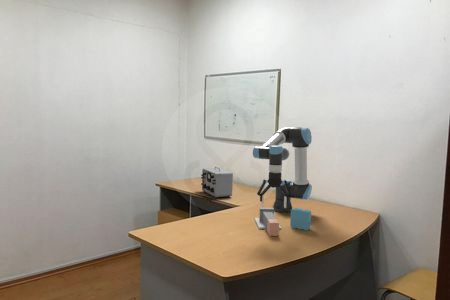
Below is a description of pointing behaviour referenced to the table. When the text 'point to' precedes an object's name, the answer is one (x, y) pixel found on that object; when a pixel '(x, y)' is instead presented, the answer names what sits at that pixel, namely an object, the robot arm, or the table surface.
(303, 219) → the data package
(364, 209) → the table surface
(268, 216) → the grey flanged post
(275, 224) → the pink block
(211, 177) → the vintage electronic device
